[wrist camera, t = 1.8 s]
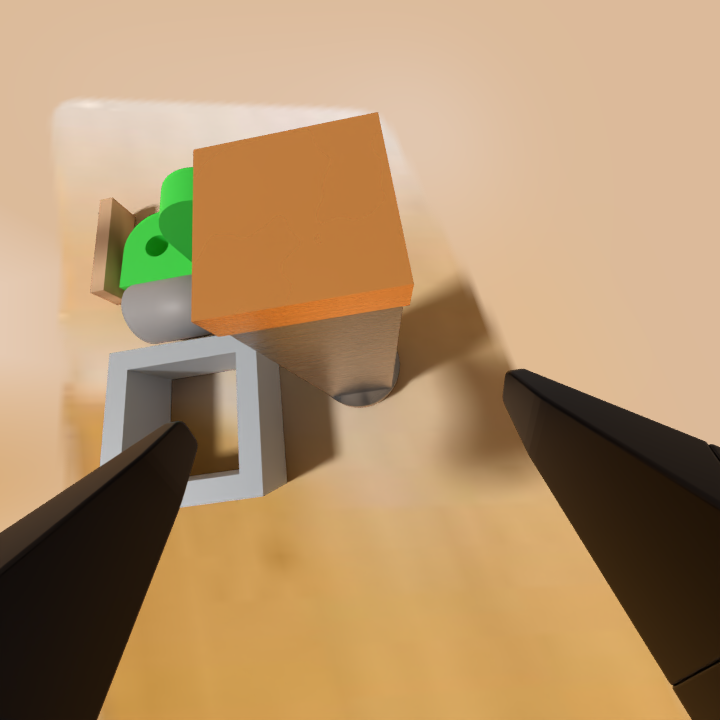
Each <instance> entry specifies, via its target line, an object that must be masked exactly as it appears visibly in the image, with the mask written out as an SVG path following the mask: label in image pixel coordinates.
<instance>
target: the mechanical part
mask: <svg viewBox="0 0 720 720" xmlns="http://www.w3.org/2000/svg"><path fill="white" fill-rule="evenodd" d="M192 225H193V167H189V168H183V169H179V170H177V171H175V172H173V173H171V174H170V175H169V176H167V178H166V179H165V180H164V182H163V184H162V188H161V199H160V211H159V212H158V213H155V214H153V215H150V216H149V217H147V218H145V219H144V220H142V221H141V222H140V223H139V224H138V225H137V226H136V227H135V228H134V229H133V230H132V232H131V233H130V235H129V236H128V238H127V241H126V243H125V247H124V252H123V261H122V269H121V278H120V286H119V288H121V289H123V290H126V289H127V288H128V287H130V286H131V285H135V284H140V283H146V282H151V281H157V280H163V279H168V278H174V277H179V276H185V275H190V274H192Z"/></svg>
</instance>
